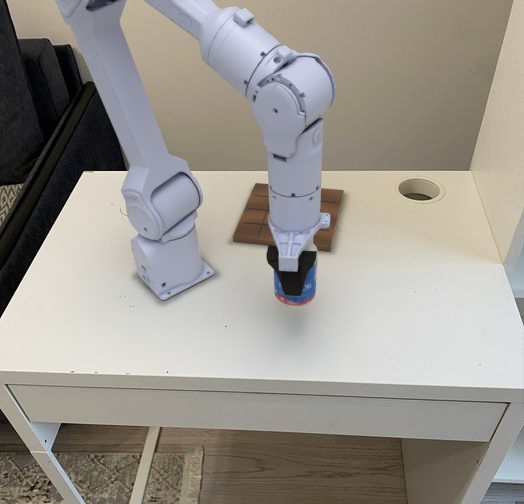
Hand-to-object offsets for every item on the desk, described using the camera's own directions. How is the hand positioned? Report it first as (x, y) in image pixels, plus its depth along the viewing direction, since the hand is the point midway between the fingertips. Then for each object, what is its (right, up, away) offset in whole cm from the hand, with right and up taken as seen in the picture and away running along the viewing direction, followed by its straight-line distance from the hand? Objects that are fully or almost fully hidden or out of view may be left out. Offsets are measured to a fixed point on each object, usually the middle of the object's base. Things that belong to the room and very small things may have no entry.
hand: (295, 277), depth 69 cm
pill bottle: (0, -2, +2) cm, 3 cm away
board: (+1, +13, +24) cm, 27 cm away
